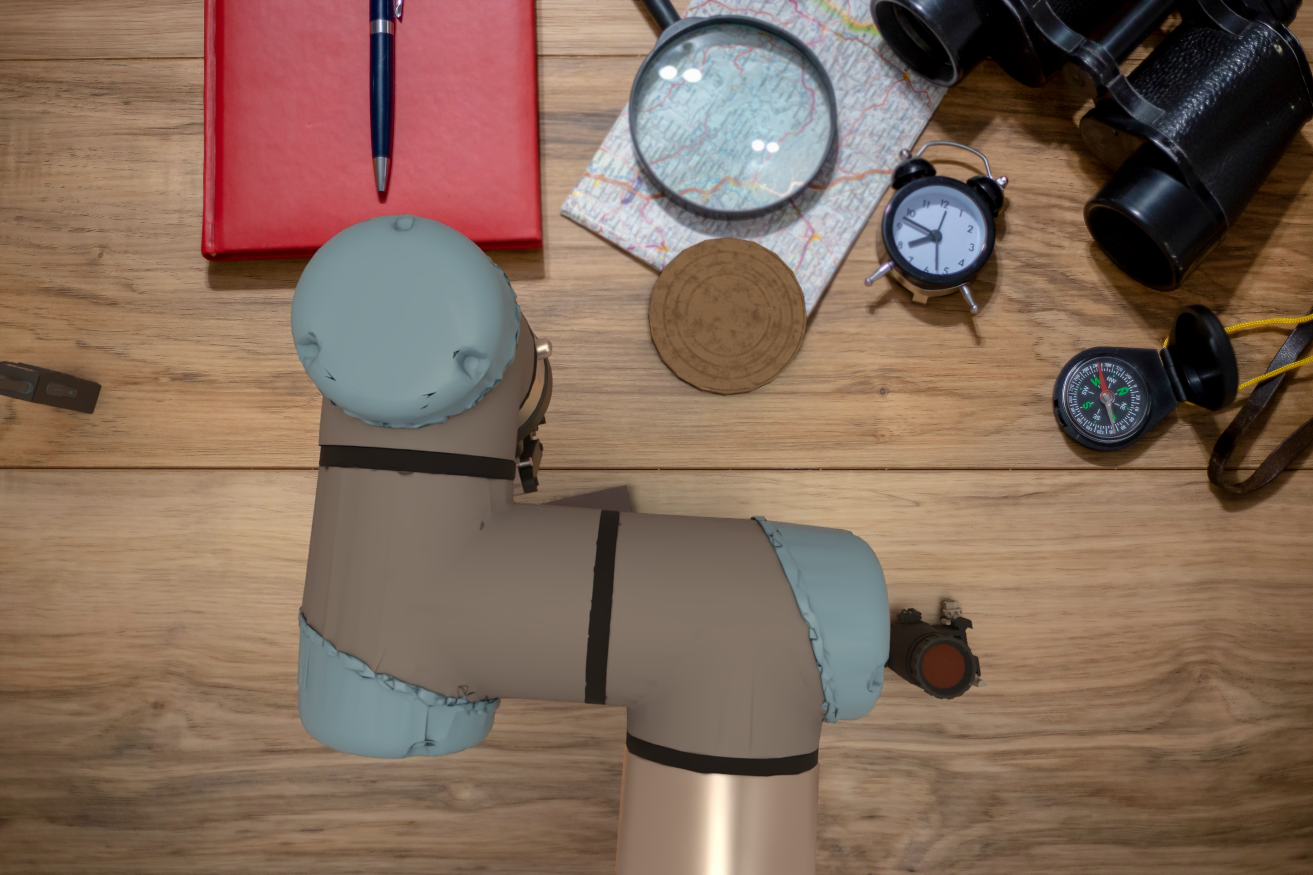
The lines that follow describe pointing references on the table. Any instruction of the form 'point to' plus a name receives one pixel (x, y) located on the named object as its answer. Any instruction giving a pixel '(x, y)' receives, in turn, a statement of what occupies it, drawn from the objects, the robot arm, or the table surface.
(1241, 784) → the table surface
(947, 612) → the red dot sight
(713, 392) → the brown round disc
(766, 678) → the robot arm
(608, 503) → the lid
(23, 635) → the table surface
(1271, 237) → the table surface
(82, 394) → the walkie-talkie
